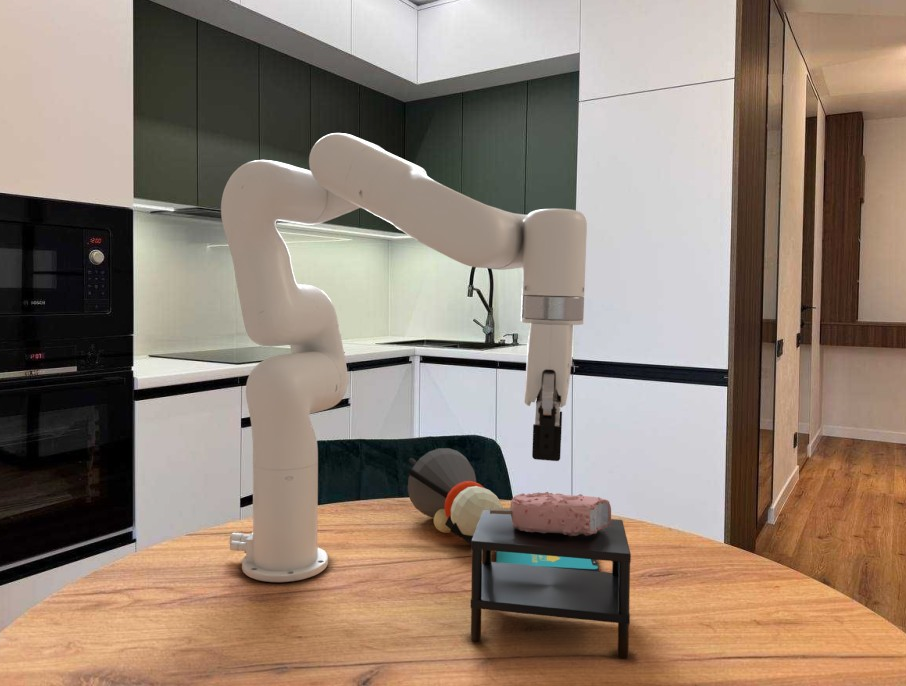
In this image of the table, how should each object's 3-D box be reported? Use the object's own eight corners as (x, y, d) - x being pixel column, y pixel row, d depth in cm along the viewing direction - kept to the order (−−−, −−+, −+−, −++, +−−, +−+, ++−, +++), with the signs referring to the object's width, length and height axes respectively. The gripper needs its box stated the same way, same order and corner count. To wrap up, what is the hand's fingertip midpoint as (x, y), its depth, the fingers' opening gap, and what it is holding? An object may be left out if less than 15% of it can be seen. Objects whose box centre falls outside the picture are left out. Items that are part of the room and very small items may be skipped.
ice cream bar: (491, 487, 90) (608, 491, 87) (491, 520, 90) (608, 525, 87) (488, 500, 83) (614, 505, 81) (488, 536, 83) (614, 541, 81)
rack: (470, 641, 82) (471, 540, 81) (482, 597, 94) (483, 509, 93) (629, 659, 78) (630, 554, 78) (620, 611, 90) (622, 519, 89)
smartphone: (496, 545, 110) (593, 550, 108) (496, 550, 110) (593, 555, 108) (495, 564, 103) (599, 569, 101) (495, 569, 103) (599, 575, 101)
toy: (367, 476, 132) (423, 538, 104) (401, 416, 134) (465, 462, 106) (438, 512, 138) (509, 580, 110) (470, 455, 140) (547, 507, 112)
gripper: (525, 308, 94) (521, 433, 95) (516, 312, 77) (511, 465, 78) (582, 310, 92) (577, 437, 93) (585, 315, 76) (579, 470, 76)
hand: (547, 450), depth 85 cm, fingers open, 9 cm apart
